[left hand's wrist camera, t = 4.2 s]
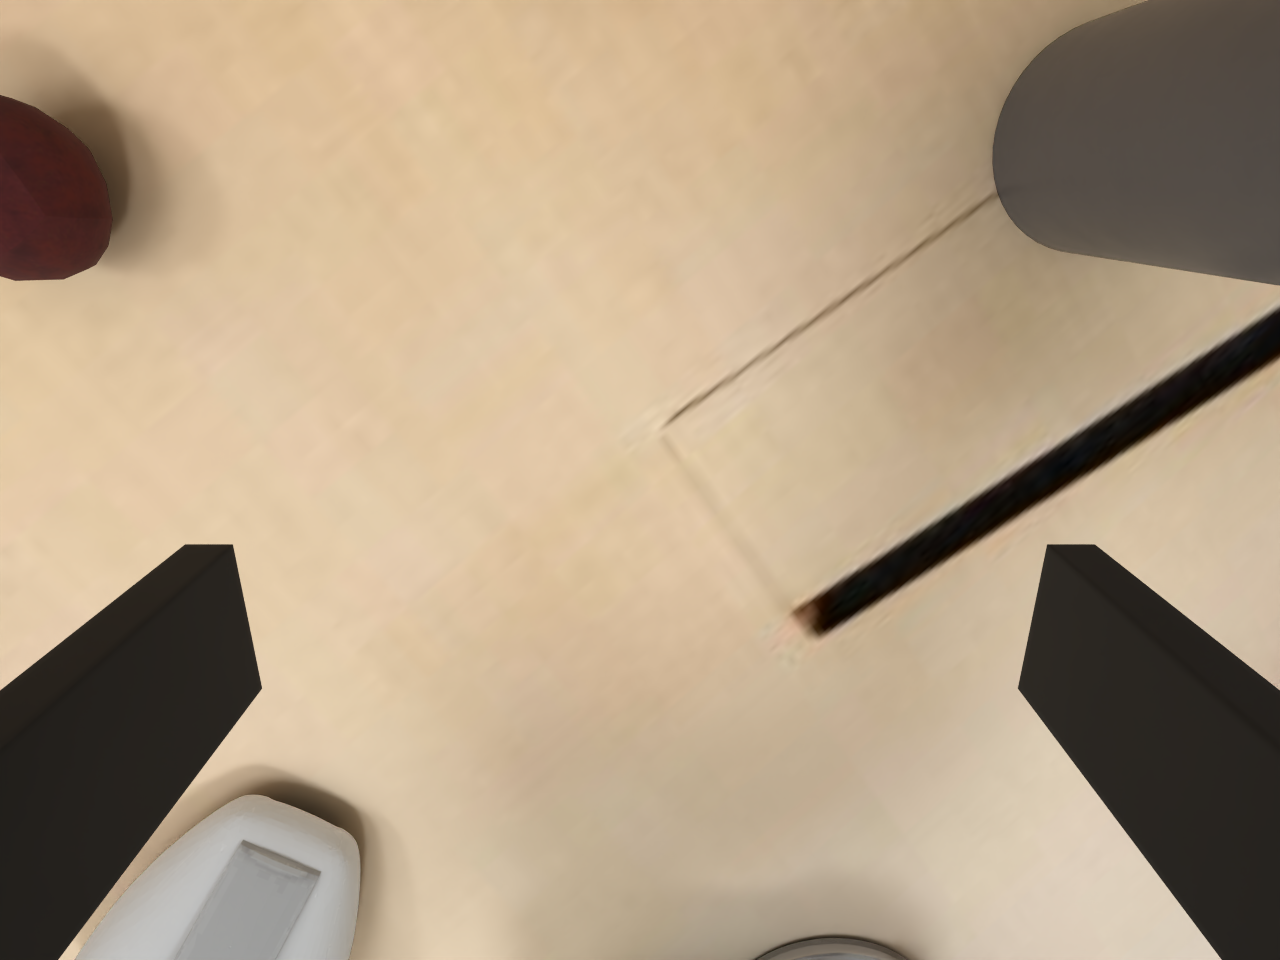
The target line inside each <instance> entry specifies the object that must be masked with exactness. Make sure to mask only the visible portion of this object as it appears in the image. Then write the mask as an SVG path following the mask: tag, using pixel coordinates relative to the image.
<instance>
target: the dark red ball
mask: <svg viewBox="0 0 1280 960" xmlns="http://www.w3.org/2000/svg"><path fill="white" fill-rule="evenodd" d="M112 220H113V219H112V213H111V208H110V202H109V196H108V191H107V185H106V182H105V180H104V178H103V176H102V174H101V172H100V170H99V168H98V166H97V164H96V162H95V160H94V158H93V156H92V154H91V151H90V150H89V149H88V148H87V147H86V146H85V145H84V144H83V143H82V142H81V141H80V140H79V139H78V138H77V137H76V136H75V135H74V134H73V133H72V132H71V131H70V130H69V129H68V128H66V127H65V126H63V125H62V124H60V123H58V122H57V121H55V120H54V119H52V118H51V117H49V116H48V115H46V114H45V113H43V112H42V111H40V110H39V109H37V108H36V107H33V106H30V105H28V104H25V103H22V102H20V101H17V100H15V99H12V98H9V97H5V96H2V95H0V276H1V277H5V278H8V279H11V280H15V281H21V280H55V279H65V278H68V277H70V276H72V275H75V274H77V273H79V272H82V271H84V270H86V269H88V268H90V267H92V266H94V265H96V264H97V262H98V261H99V259H100V258H101V256H102V255H103V253H104V252H105V250H106V249H107V247H108V245H109V239H110V233H111V226H112Z"/></svg>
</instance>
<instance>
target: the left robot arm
mask: <svg viewBox="0 0 1280 960" xmlns="http://www.w3.org/2000/svg"><path fill="white" fill-rule="evenodd" d="M261 689H262V686H261V681H260V676H259V671H258V666H257V661H256V656H255V651H254V647H253V642H252V637H251V632H250V627H249V622H248V617H247V612H246V607H245V602H244V597H243V592H242V587H241V583H240V578H239V573H238V568H237V563H236V558H235V553H234V548H233V545H184V546H183V547H181V548H180V549H179V550H178V551H176V552H175V553H174V554H173V555H171V556H170V557H169V558H168V559H166V560H165V561H164V562H162V563H161V564H160V565H159V566H157V567H156V568H155V569H154V570H152V571H151V572H150V573H149V574H147V575H146V576H145V577H143V578H142V579H141V580H140V581H138V582H137V583H136V584H135V585H133V586H132V587H131V588H130V589H128V590H127V591H126V592H124V593H123V594H122V595H121V596H119V597H118V598H117V599H116V600H114V601H113V602H112V603H111V604H109V605H108V606H107V607H105V608H104V609H103V610H102V611H100V612H99V613H98V614H97V615H95V616H94V617H93V618H92V619H90V620H89V621H88V622H86V623H85V624H84V625H83V626H81V627H80V628H79V629H78V630H76V631H75V632H74V633H73V634H71V635H70V636H69V637H67V638H66V639H65V640H64V641H62V642H61V643H60V644H59V645H57V646H56V647H55V648H54V649H52V650H51V651H50V652H48V653H47V654H46V655H45V656H43V657H42V658H41V659H40V660H38V661H37V662H36V663H34V664H33V665H32V666H31V667H29V668H28V669H27V670H26V671H24V672H23V673H22V674H21V675H19V676H18V677H17V678H15V679H14V680H13V681H12V682H10V683H9V684H8V685H7V686H5V687H4V688H3V689H2V690H0V960H58V959H59V958H60V957H61V955H62V954H63V953H64V951H65V950H66V949H67V947H68V946H69V945H70V943H71V942H72V941H73V939H74V938H75V937H76V935H77V934H78V933H79V931H80V930H81V929H82V927H83V926H84V925H85V923H86V922H87V921H88V919H89V918H90V917H91V915H92V914H93V913H94V911H95V910H96V909H97V907H98V906H99V905H100V903H101V902H102V901H103V899H104V898H105V897H106V895H107V894H108V893H109V891H110V890H111V889H112V887H113V886H114V885H115V883H116V882H117V881H118V879H119V878H120V877H121V875H122V874H123V873H124V871H125V870H126V869H127V867H128V866H129V865H130V863H131V862H132V861H133V859H134V858H135V857H136V855H137V854H138V853H139V851H140V850H141V849H142V847H143V846H144V845H145V843H146V842H147V841H148V839H149V838H150V837H151V835H152V834H153V833H154V831H155V830H156V829H157V828H158V826H159V825H160V824H161V822H162V821H163V820H164V818H165V817H166V816H167V814H168V813H169V812H170V810H171V809H172V808H173V806H174V805H175V804H176V802H177V801H178V800H179V798H180V797H181V796H182V794H183V793H184V792H185V790H186V789H187V788H188V786H189V785H190V784H191V782H192V781H193V780H194V778H195V777H196V776H197V774H198V773H199V772H200V770H201V769H202V768H203V766H204V765H205V764H206V762H207V761H208V760H209V758H210V757H211V756H212V754H213V753H214V752H215V750H216V749H217V748H218V746H219V745H220V744H221V742H222V741H223V740H224V738H225V737H226V736H227V734H228V733H229V732H230V730H231V729H232V728H233V726H234V725H235V724H236V722H237V721H238V720H239V718H240V717H241V716H242V714H243V713H244V712H245V710H246V709H247V708H248V706H249V705H250V704H251V702H252V701H253V700H254V698H255V697H256V696H257V694H258V693H259V692H260V690H261ZM1018 689H1019V690H1020V692H1021V693H1022V694H1023V696H1024V697H1025V698H1026V700H1027V701H1028V702H1029V704H1030V705H1031V706H1032V708H1033V709H1034V710H1035V712H1036V713H1037V714H1038V716H1039V717H1040V718H1041V720H1042V721H1043V722H1044V724H1045V725H1046V726H1047V728H1048V729H1049V730H1050V732H1051V733H1052V734H1053V736H1054V737H1055V738H1056V740H1057V741H1058V742H1059V744H1060V745H1061V746H1062V748H1063V749H1064V750H1065V752H1066V753H1067V754H1068V756H1069V757H1070V758H1071V760H1072V761H1073V762H1074V764H1075V765H1076V766H1077V768H1078V769H1079V770H1080V772H1081V773H1082V774H1083V776H1084V777H1085V778H1086V780H1087V781H1088V782H1089V784H1090V785H1091V786H1092V788H1093V789H1094V790H1095V792H1096V793H1097V794H1098V796H1099V797H1100V798H1101V800H1102V801H1103V802H1104V804H1105V805H1106V806H1107V808H1108V809H1109V810H1110V812H1111V813H1112V814H1113V816H1114V817H1115V818H1116V820H1117V821H1118V822H1119V824H1120V825H1121V826H1122V828H1123V829H1124V830H1125V831H1126V833H1127V834H1128V835H1129V837H1130V838H1131V839H1132V841H1133V842H1134V843H1135V845H1136V846H1137V847H1138V849H1139V850H1140V851H1141V853H1142V854H1143V855H1144V857H1145V858H1146V859H1147V861H1148V862H1149V863H1150V865H1151V866H1152V867H1153V869H1154V870H1155V871H1156V873H1157V874H1158V875H1159V877H1160V878H1161V879H1162V881H1163V882H1164V883H1165V885H1166V886H1167V887H1168V889H1169V890H1170V891H1171V893H1172V894H1173V895H1174V897H1175V898H1176V899H1177V901H1178V902H1179V903H1180V905H1181V906H1182V907H1183V909H1184V910H1185V911H1186V913H1187V914H1188V915H1189V917H1190V918H1191V919H1192V921H1193V922H1194V923H1195V925H1196V926H1197V927H1198V929H1199V930H1200V931H1201V933H1202V934H1203V935H1204V937H1205V938H1206V939H1207V941H1208V942H1209V943H1210V945H1211V946H1212V947H1213V949H1214V950H1215V951H1216V953H1217V954H1218V955H1219V957H1220V958H1221V959H1222V960H1280V690H1278V689H1277V688H1276V687H1275V686H1273V685H1272V684H1271V683H1270V682H1268V681H1267V680H1266V679H1265V678H1263V677H1262V676H1261V675H1259V674H1258V673H1257V672H1256V671H1254V670H1253V669H1252V668H1251V667H1249V666H1248V665H1247V664H1246V663H1244V662H1243V661H1242V660H1240V659H1239V658H1238V657H1237V656H1235V655H1234V654H1233V653H1232V652H1230V651H1229V650H1228V649H1226V648H1225V647H1224V646H1223V645H1221V644H1220V643H1219V642H1218V641H1216V640H1215V639H1214V638H1213V637H1211V636H1210V635H1209V634H1207V633H1206V632H1205V631H1204V630H1202V629H1201V628H1200V627H1199V626H1197V625H1196V624H1195V623H1194V622H1192V621H1191V620H1190V619H1188V618H1187V617H1186V616H1185V615H1183V614H1182V613H1181V612H1180V611H1178V610H1177V609H1176V608H1175V607H1173V606H1172V605H1171V604H1169V603H1168V602H1167V601H1166V600H1164V599H1163V598H1162V597H1161V596H1159V595H1158V594H1157V593H1156V592H1154V591H1153V590H1152V589H1150V588H1149V587H1148V586H1147V585H1145V584H1144V583H1143V582H1142V581H1140V580H1139V579H1138V578H1137V577H1135V576H1134V575H1133V574H1131V573H1130V572H1129V571H1128V570H1126V569H1125V568H1124V567H1123V566H1121V565H1120V564H1119V563H1118V562H1116V561H1115V560H1114V559H1112V558H1111V557H1110V556H1109V555H1107V554H1106V553H1105V552H1104V551H1102V550H1101V549H1100V548H1099V547H1097V546H1096V545H1047V548H1046V553H1045V558H1044V563H1043V568H1042V573H1041V578H1040V583H1039V587H1038V592H1037V597H1036V602H1035V607H1034V612H1033V617H1032V622H1031V627H1030V632H1029V637H1028V642H1027V647H1026V651H1025V656H1024V661H1023V666H1022V671H1021V676H1020V681H1019V686H1018ZM757 960H907V959H906V958H904V957H903V956H901V955H900V954H898V953H896V952H894V951H892V950H890V949H888V948H886V947H883V946H880V945H878V944H874V943H871V942H867V941H862V940H856V939H848V938H821V939H812V940H807V941H801V942H797V943H793V944H790V945H787V946H784V947H781V948H779V949H776V950H774V951H771V952H770V953H768V954H766V955H764V956H762V957H760V958H759V959H757Z"/></svg>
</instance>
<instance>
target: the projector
mask: <svg viewBox="0 0 1280 960" xmlns="http://www.w3.org/2000/svg"><path fill="white" fill-rule="evenodd" d="M359 893H360V854H359V849H358V845H357V842H356V841H355V839H354V838H353V837H352V836H351V835H350V834H349V833H348V832H347V831H345V830H344V829H342V828H339V827H336V826H334V825H332V824H331V823H329V822H327V821H325V820H323V819H321V818H319V817H317V816H315V815H312V814H310V813H308V812H305V811H303V810H301V809H298V808H296V807H293V806H290V805H288V804H285V803H282V802H278V801H275V800H273V799H271V798H269V797H267V796H263V795H254V794H252V795H244V796H242V797H239V798H237V799H234V800H233V801H231V802H229V803H227V804H226V805H224V806H222V807H221V808H219V809H218V810H216V811H215V812H213V813H212V814H210V815H209V816H208V817H206V818H205V819H203V820H202V821H201V822H199V823H198V824H197V825H195V826H194V827H193V828H192V829H190V830H189V831H188V832H186V833H185V834H184V835H183V836H182V837H181V838H179V839H178V840H177V841H176V842H175V843H173V844H172V845H171V846H170V847H169V848H168V849H166V850H165V851H164V852H163V853H162V854H161V855H160V856H159V857H158V858H157V859H156V860H155V861H154V862H152V863H151V864H150V865H149V866H148V868H147V869H146V870H145V871H144V872H143V873H142V874H141V875H140V876H139V877H138V878H137V879H136V880H135V881H134V882H133V883H132V884H131V885H130V886H129V887H128V889H127V890H126V891H125V892H124V893H123V894H122V896H121V897H120V898H119V899H118V900H117V901H116V903H115V904H114V905H113V906H112V907H111V909H110V910H109V911H108V913H107V914H106V915H105V917H104V918H103V919H102V921H101V922H100V923H99V925H98V926H97V927H96V929H95V930H94V931H93V933H92V934H91V936H90V937H89V939H88V940H87V941H86V943H85V944H84V946H83V947H82V949H81V950H80V952H79V953H78V955H77V956H76V958H75V960H349V957H350V953H351V948H352V944H353V939H354V933H355V928H356V920H357V913H358V905H359Z"/></svg>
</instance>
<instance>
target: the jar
mask: <svg viewBox="0 0 1280 960" xmlns="http://www.w3.org/2000/svg"><path fill="white" fill-rule="evenodd" d="M993 171H994V179H995V184H996V188H997V192H998V194H999V197H1000V200H1001V202H1002V205H1003V206H1004V208H1005V210H1006V212H1007V213H1008V215H1009V217H1010V218H1011V219H1012V220H1013V222H1014V223H1015V224H1016V226H1017V227H1018V228H1019V229H1021V230H1022V231H1023V232H1024V233H1025V234H1026V235H1027V236H1029V237H1030V238H1032V239H1033V240H1035V241H1036V242H1038V243H1040V244H1042V245H1044V246H1046V247H1048V248H1052V249H1055V250H1058V251H1062V252H1068V253H1075V254H1081V255H1088V256H1094V257H1100V258H1107V259H1113V260H1120V261H1126V262H1132V263H1139V264H1145V265H1152V266H1158V267H1164V268H1171V269H1177V270H1184V271H1190V272H1197V273H1203V274H1209V275H1216V276H1222V277H1229V278H1235V279H1241V280H1248V281H1254V282H1261V283H1267V284H1273V285H1280V0H1148V1H1145V2H1142V3H1140V4H1137V5H1134V6H1131V7H1129V8H1126V9H1123V10H1120V11H1118V12H1115V13H1112V14H1109V15H1107V16H1104V17H1101V18H1098V19H1096V20H1093V21H1090V22H1088V23H1085V24H1083V25H1081V26H1079V27H1076V28H1074V29H1072V30H1071V31H1069V32H1067V33H1066V34H1064V35H1062V36H1060V37H1059V38H1058V39H1056V40H1055V41H1054V42H1052V43H1051V44H1050V45H1048V46H1047V47H1046V48H1045V49H1044V50H1043V51H1042V52H1041V53H1040V54H1039V55H1038V56H1037V57H1035V58H1034V59H1033V61H1032V62H1031V63H1030V64H1029V65H1028V67H1027V68H1026V69H1025V70H1024V71H1023V73H1022V74H1021V76H1020V77H1019V79H1018V80H1017V82H1016V83H1015V85H1014V86H1013V88H1012V90H1011V92H1010V94H1009V96H1008V98H1007V99H1006V101H1005V104H1004V106H1003V109H1002V112H1001V114H1000V117H999V120H998V124H997V128H996V132H995V138H994V145H993Z"/></svg>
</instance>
